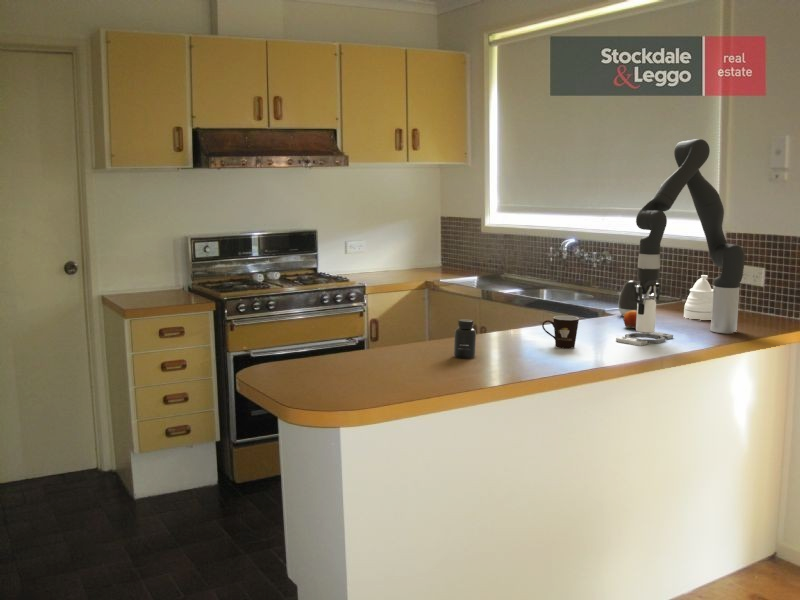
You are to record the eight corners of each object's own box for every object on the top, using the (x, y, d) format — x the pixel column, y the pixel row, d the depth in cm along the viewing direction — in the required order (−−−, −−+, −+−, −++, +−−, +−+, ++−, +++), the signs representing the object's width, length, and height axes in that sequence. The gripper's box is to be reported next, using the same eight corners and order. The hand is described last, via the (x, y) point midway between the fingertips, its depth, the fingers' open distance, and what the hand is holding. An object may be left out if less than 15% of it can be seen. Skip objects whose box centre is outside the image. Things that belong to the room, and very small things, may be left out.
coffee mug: (582, 346, 289) (583, 317, 288) (569, 350, 283) (570, 321, 282) (553, 341, 297) (554, 313, 296) (540, 345, 291) (540, 316, 290)
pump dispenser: (641, 319, 345) (643, 282, 343) (615, 317, 349) (617, 280, 347) (645, 315, 354) (647, 279, 352) (620, 313, 358) (621, 278, 356)
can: (655, 333, 298) (657, 300, 296) (636, 332, 299) (638, 299, 297) (653, 330, 304) (655, 297, 302) (635, 329, 305) (637, 296, 304)
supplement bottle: (461, 360, 267) (461, 322, 266) (450, 355, 273) (450, 319, 272) (479, 357, 270) (480, 321, 269) (468, 353, 276) (468, 317, 275)
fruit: (621, 326, 320) (623, 306, 323) (623, 333, 327) (625, 314, 330) (643, 327, 317) (645, 308, 320) (644, 335, 324) (646, 316, 327)
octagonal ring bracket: (644, 333, 314) (645, 329, 314) (676, 338, 305) (677, 334, 305) (612, 340, 300) (612, 336, 300) (644, 346, 290) (645, 342, 290)
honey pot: (721, 320, 343) (724, 276, 340) (689, 320, 343) (692, 276, 340) (710, 315, 355) (712, 273, 353) (679, 315, 356) (682, 272, 353)
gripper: (650, 264, 306) (647, 310, 308) (628, 267, 296) (625, 314, 299) (668, 266, 300) (666, 312, 303) (647, 269, 291) (644, 317, 293)
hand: (646, 313), depth 301 cm, fingers closed on can, 6 cm apart
